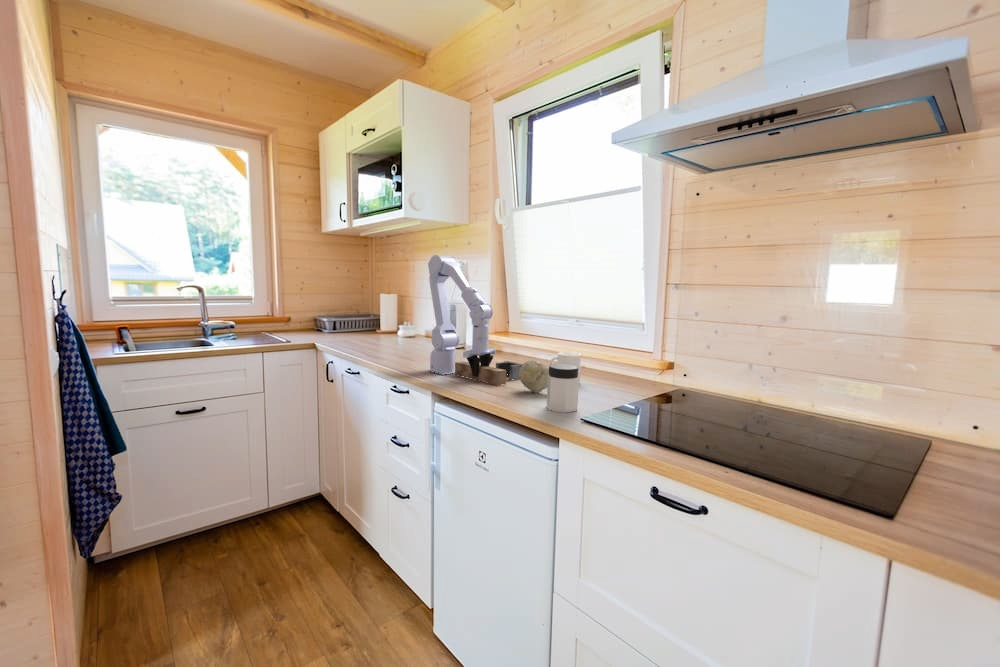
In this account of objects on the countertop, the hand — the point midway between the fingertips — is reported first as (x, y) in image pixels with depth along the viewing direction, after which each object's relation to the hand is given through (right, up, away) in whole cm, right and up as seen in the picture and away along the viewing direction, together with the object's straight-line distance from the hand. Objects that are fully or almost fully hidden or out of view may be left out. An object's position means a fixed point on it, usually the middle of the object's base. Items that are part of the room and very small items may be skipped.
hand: (479, 375), depth 158 cm
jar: (+25, -6, -34) cm, 43 cm away
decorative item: (+19, -4, -16) cm, 25 cm away
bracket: (+10, -1, +5) cm, 12 cm away
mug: (+30, -2, +2) cm, 30 cm away
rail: (0, -2, 0) cm, 2 cm away
